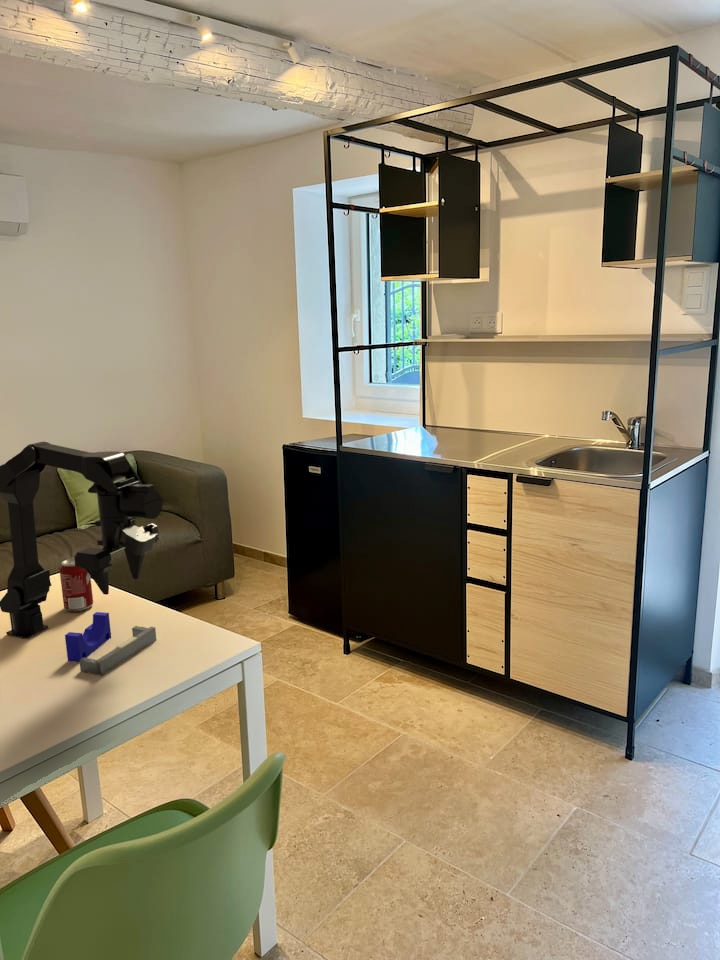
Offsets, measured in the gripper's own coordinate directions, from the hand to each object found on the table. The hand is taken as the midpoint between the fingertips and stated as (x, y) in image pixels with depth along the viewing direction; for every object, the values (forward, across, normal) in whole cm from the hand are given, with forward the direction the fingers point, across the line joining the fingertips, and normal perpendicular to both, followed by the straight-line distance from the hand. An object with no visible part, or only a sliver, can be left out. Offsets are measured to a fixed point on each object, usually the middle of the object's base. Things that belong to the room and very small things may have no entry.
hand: (121, 586), depth 152 cm
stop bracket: (+15, -2, 0) cm, 15 cm away
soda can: (+15, +15, +27) cm, 35 cm away
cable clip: (+15, -2, +9) cm, 18 cm away
